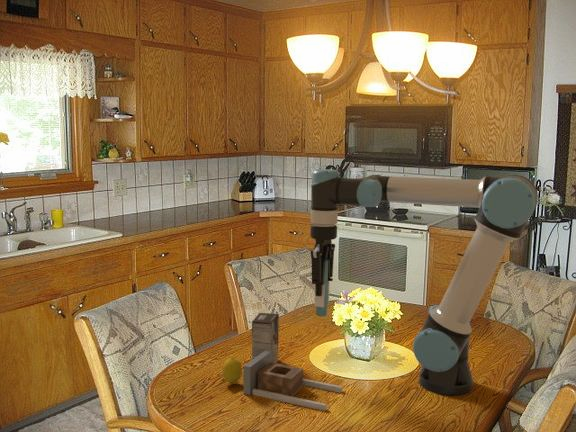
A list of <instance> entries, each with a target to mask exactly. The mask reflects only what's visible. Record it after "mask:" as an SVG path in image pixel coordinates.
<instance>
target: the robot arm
mask: <svg viewBox="0 0 576 432" xmlns="http://www.w3.org/2000/svg"><path fill="white" fill-rule="evenodd" d="M310 187H311V193H310V194H311V195H310V196H311V197H310V198H311V200H310V201H311V202H310V204H311V205H310V212H309V215H310V223H311V225H310V231H309V232H310V238H311V239H313V240H315V242H314V249H313V250H310V258H311V284H312V285H314V307H316V306H317V307H324V299H325V285H324V271H325V261H327V260H328V286H327V305H329V304H330V282H333V280H334V279H333V273H334V260H335V259H334V258H335V257H334V256H335V249H336V243H333V242H332V240H335V239H337V238H338V226H337V225H336V224H338V217H339V216H338V215H339V213H338V212H339V210H338V209H339V205H340V206H343V205H344V206H355V207H363V208H375V207H378V206H379V205H380V203H397V204H398V203H399V204H413V205H414V204H416V205H427V206H428V205H429V206H430V205H431V206H443V207H444V206H445V207H461V208H477V209H478V211H477V212H476V215H475V217H474V221H475V224H476V228H475V231H474V234H473V236H472V237H471V240H470V242H469V244H468V246H467V248H466V249H465V252H464V253H463V256H462V258H461V260H460V262H459V265H458V266H457V268H456V271H455V273H454V274H453V277H452V278H451V280H450V283H449V285H448V287H447V289H446V292H445V293H444V295H443V297H442V300H441V301H440V303H439V304H436V305H434V304H433V305H430V307H429V308H428V312H427V317H426V319H425V320H424V323H423V325H422V327H421V329H420V331H419V332H418V333H417V334H416V335H415V337H414V340H413V345H412V350H413V354H414V357H415V358H416V361H417V362H418V363H419V364H420V365H421V368H420V371H419V373H418V374H419V375H418V382H419V384H420V386H421V387H422V388H424V389H425V390H427V391H430V392H432V393H436V394H441V395H445V396H446V395H447V396H458V395H465V394H468V393H470V392H471V391H472V390H473V389H474V388H473V387H474V378H473V375H472V372H471V367H470V364H469V350H470V337H471V336H470V335H471V334H472V331H473V329H472V325H471V322H472V318H473V316H474V314H475V312H476V310H477V308H478V306H479V304H480V302H481V300H482V298H483V296H484V294H485V292H486V291H487V288H488V286H489V284H490V283H491V280H492V278H493V277H494V274H495V272H496V270H497V268H498V266H499V264H500V263H501V261H502V259H503V257H504V255H505V252H506V251H507V248H508V247H509V245H510V243H511V242H514V241H517V240H519V239H520V238H521V236H522V234H523V231H524V230H525V229H526V228H525V227H526V226H527V224H528V223H529V220H530V218H531V217H532V216H533V214H534V211H535V208H536V206H537V205H538V199H539V194H538V190H537V187H536V185H535V184H534V183H533V181H531V180H530V179H528V178H527V177H525V176H523V175H518V174H511V175H500V176H499V175H497V176H488V175H487V176H484V177H482V178H481V179H467V178H466V179H465V178H464V179H463V178H443V177H441V178H440V177H416V176H414V177H413V176H394V175H393V176H389V175H387V176H386V175H380V174H371V175H368V176H364V177H360V178H351V177H350V178H349V177H345V178H344V177H340V173H339V171H338V170H337V169H325V168H324V169H315V170H314V171H313V172H312V175H311V185H310Z"/></svg>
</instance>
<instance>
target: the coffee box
mask: <svg viewBox="0 0 576 432" xmlns="http://www.w3.org/2000/svg"><path fill="white" fill-rule="evenodd" d="M279 317H280V314H279V313H269V312H259V313H258V314H257V315H256V316H255V318H254V319H253V320H252V321H251V360H253V359H254V358H255V357H257V356H258V355H260V354H261V353H262V352H264V351H265V350H266V349H269V350H273V363H277V364H278V362H279V329H280V328H279Z"/></svg>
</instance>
